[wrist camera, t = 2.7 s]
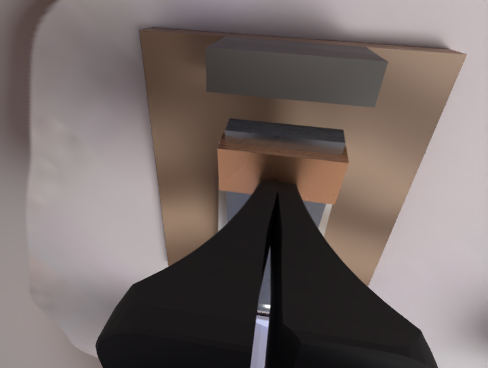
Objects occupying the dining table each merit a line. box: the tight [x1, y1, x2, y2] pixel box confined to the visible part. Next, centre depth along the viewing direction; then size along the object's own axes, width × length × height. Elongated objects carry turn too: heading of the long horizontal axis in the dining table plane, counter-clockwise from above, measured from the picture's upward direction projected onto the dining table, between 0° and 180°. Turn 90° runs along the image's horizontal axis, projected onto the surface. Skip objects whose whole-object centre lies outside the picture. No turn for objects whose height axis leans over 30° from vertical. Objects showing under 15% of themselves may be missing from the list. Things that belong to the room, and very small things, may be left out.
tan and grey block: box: [217, 118, 349, 312], centre depth 15 cm, size 14×4×1 cm, turn 178°
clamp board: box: [139, 27, 467, 287], centre depth 16 cm, size 17×14×5 cm
